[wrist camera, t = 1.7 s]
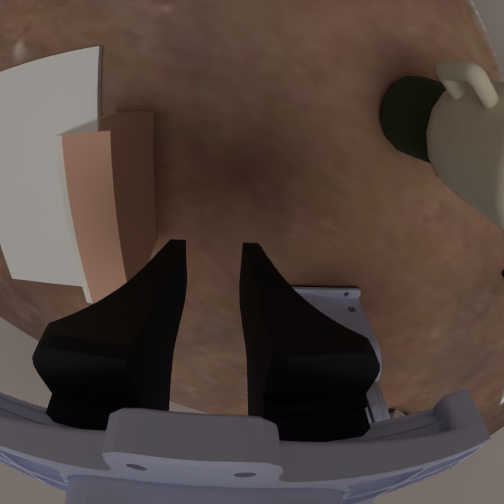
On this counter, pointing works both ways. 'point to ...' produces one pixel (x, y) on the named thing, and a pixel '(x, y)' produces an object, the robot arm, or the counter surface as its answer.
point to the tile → (109, 198)
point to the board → (42, 159)
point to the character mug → (454, 131)
